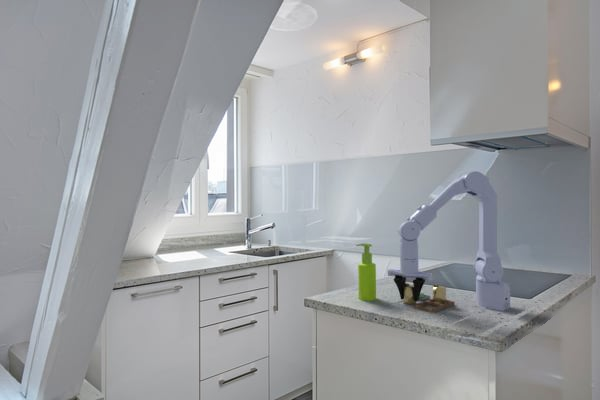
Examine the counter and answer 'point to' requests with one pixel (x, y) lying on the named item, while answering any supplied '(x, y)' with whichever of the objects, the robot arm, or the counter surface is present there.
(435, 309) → the wooden tray
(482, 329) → the counter surface
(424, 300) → the button housing
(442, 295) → the cylinder
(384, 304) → the counter surface
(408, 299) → the cylinder
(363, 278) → the soap dispenser
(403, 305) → the light blue shallow tray
